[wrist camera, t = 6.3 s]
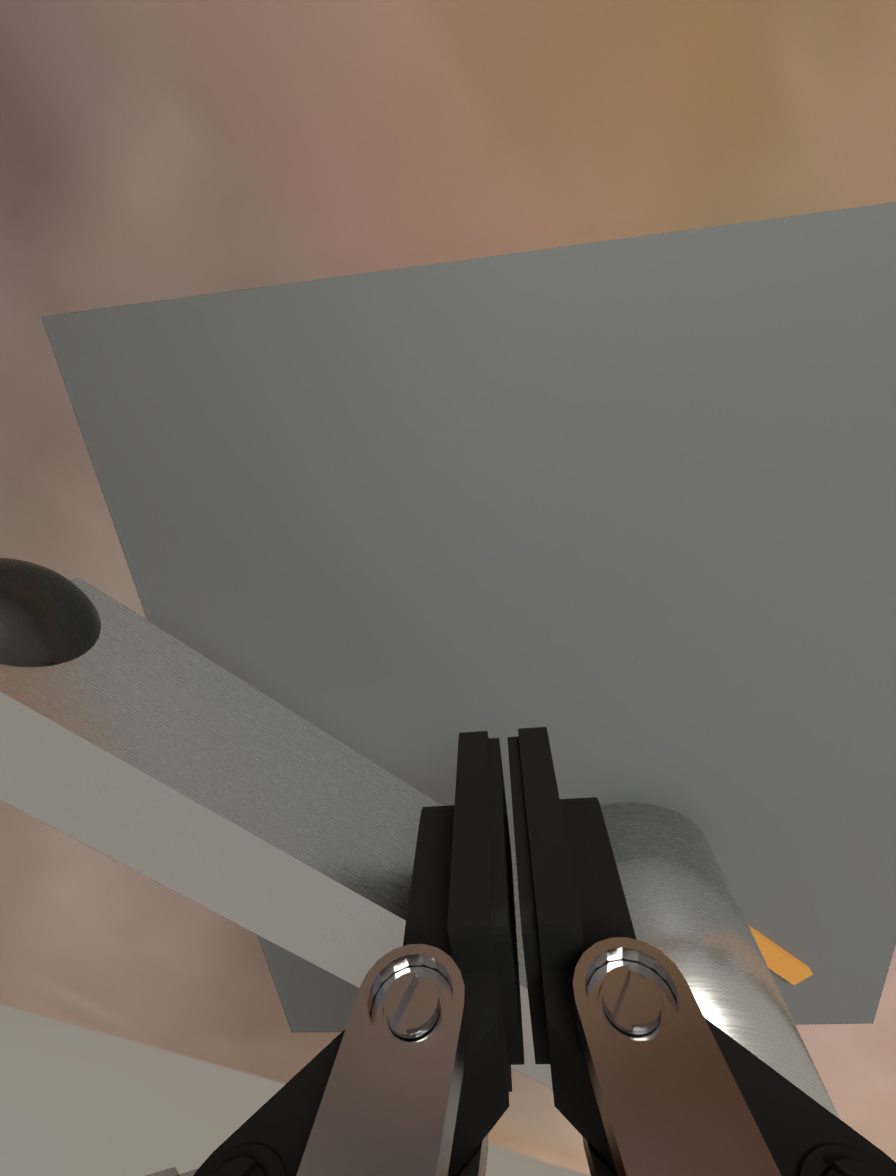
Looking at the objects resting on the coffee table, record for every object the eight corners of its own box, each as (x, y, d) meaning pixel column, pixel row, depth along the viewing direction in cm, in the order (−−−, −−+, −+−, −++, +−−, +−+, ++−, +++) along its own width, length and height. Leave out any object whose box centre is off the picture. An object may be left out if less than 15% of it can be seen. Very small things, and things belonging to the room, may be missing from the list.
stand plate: (84, 320, 14) (33, 315, 12) (1042, 193, 12) (1129, 168, 10) (302, 993, 24) (289, 1039, 22) (848, 981, 22) (877, 1030, 20)
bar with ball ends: (56, 589, 15) (-328, 805, 8) (137, 433, 13) (-259, 529, 6) (713, 993, 20) (844, 1349, 13) (833, 918, 18) (1059, 1280, 11)
